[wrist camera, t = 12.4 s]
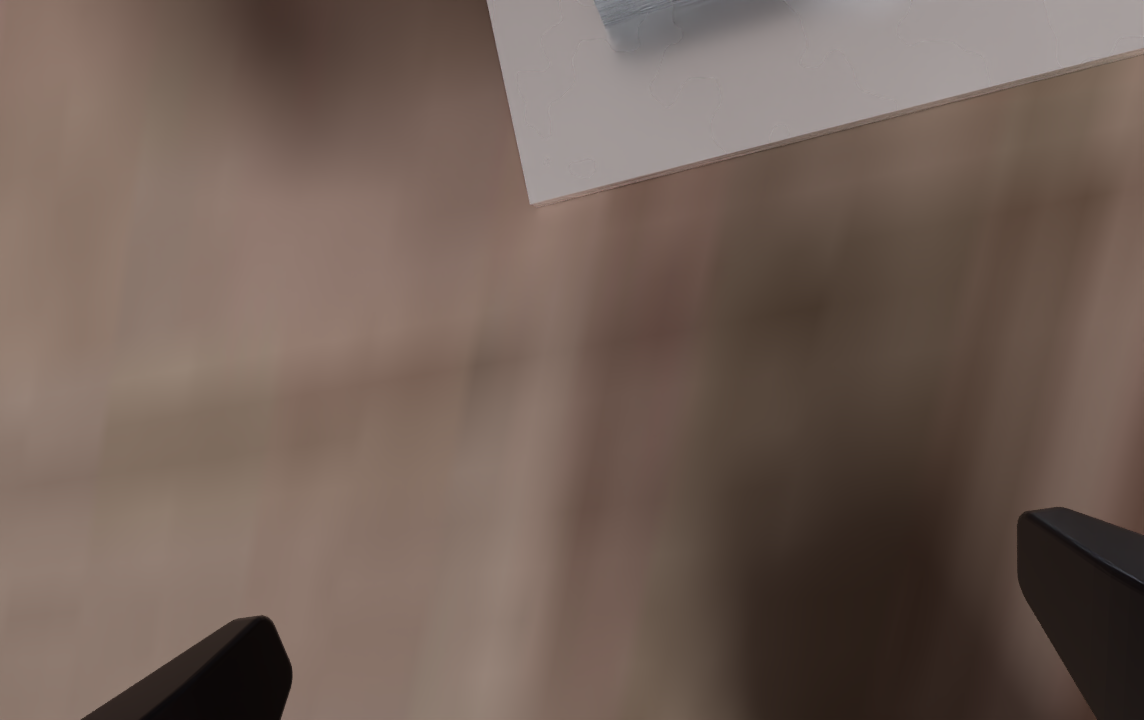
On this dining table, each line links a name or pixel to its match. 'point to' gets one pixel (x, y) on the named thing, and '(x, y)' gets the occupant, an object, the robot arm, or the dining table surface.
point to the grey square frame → (763, 73)
